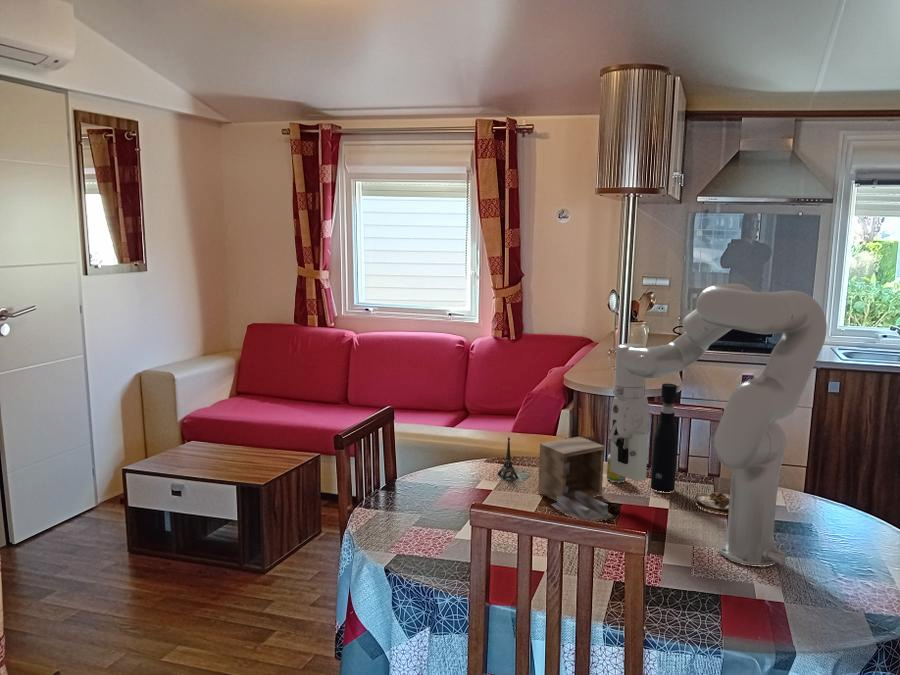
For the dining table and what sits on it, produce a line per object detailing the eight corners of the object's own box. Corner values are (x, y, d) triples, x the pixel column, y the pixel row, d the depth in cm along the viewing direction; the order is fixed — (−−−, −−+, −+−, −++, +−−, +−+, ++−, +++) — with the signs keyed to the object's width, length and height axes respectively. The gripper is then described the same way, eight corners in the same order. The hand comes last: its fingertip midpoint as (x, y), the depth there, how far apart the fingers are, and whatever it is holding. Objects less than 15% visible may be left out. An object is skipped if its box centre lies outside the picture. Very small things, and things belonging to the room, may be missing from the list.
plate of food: (762, 517, 185) (764, 501, 184) (711, 522, 181) (713, 506, 180) (726, 496, 199) (727, 481, 198) (678, 500, 195) (679, 486, 194)
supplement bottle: (624, 484, 205) (626, 452, 203) (605, 482, 207) (606, 449, 205) (626, 478, 210) (628, 446, 208) (607, 476, 212) (609, 444, 210)
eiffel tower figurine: (513, 490, 201) (514, 443, 199) (481, 483, 206) (482, 437, 204) (535, 474, 213) (536, 430, 211) (504, 468, 219) (505, 425, 216)
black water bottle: (671, 486, 204) (678, 382, 199) (676, 494, 198) (683, 388, 193) (648, 485, 205) (655, 381, 200) (652, 493, 198) (659, 387, 194)
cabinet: (636, 512, 185) (640, 459, 183) (585, 525, 176) (587, 471, 174) (577, 484, 205) (579, 436, 202) (528, 495, 196) (529, 445, 193)
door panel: (646, 479, 184) (647, 433, 182) (634, 482, 182) (636, 436, 180) (618, 469, 192) (619, 425, 191) (607, 471, 190) (608, 427, 189)
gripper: (616, 398, 177) (615, 470, 179) (663, 391, 185) (661, 460, 188) (595, 392, 183) (594, 462, 186) (641, 386, 192) (639, 453, 194)
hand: (628, 460), depth 187 cm, fingers closed on door panel, 3 cm apart
